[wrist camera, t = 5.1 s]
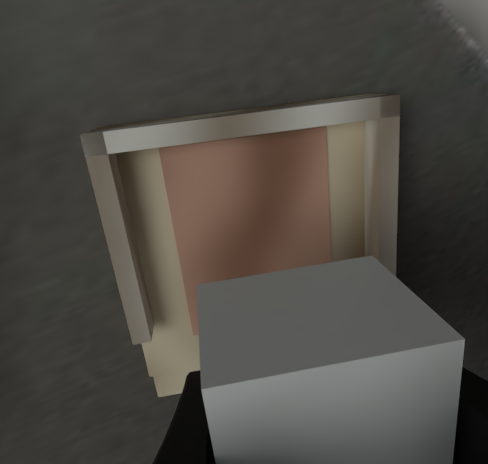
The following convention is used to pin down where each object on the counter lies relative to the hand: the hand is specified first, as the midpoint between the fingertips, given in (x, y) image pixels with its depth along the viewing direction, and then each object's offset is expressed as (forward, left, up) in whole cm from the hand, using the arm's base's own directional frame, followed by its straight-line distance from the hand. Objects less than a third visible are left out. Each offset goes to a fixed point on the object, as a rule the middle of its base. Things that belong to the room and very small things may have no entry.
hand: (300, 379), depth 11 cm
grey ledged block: (0, 0, -2) cm, 2 cm away
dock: (0, -1, -9) cm, 9 cm away
